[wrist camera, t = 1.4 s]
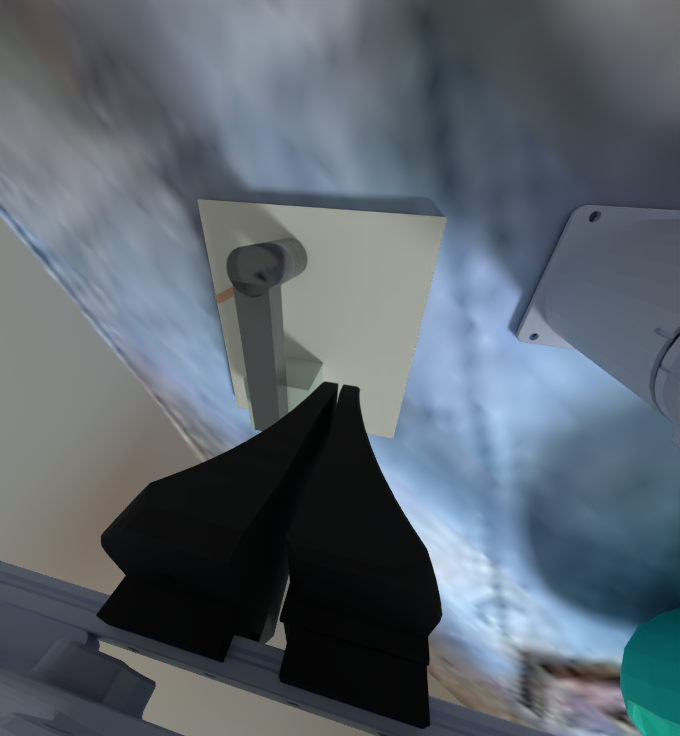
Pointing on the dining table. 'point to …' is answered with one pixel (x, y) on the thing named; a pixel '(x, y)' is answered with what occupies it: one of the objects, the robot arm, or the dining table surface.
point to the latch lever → (264, 320)
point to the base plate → (336, 293)
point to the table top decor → (653, 675)
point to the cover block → (295, 382)
